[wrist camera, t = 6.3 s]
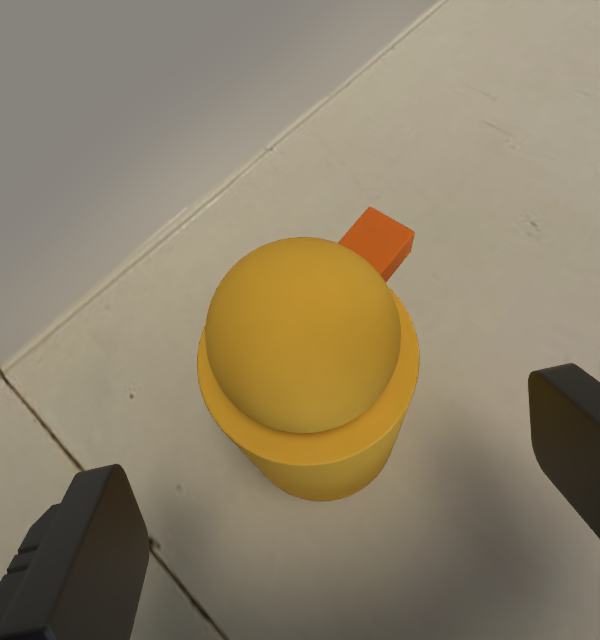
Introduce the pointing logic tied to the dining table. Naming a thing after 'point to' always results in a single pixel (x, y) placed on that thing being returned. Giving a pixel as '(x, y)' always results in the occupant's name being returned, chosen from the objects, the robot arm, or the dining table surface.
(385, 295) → the yellow duck figurine
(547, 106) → the dining table surface
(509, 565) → the dining table surface
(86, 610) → the robot arm
